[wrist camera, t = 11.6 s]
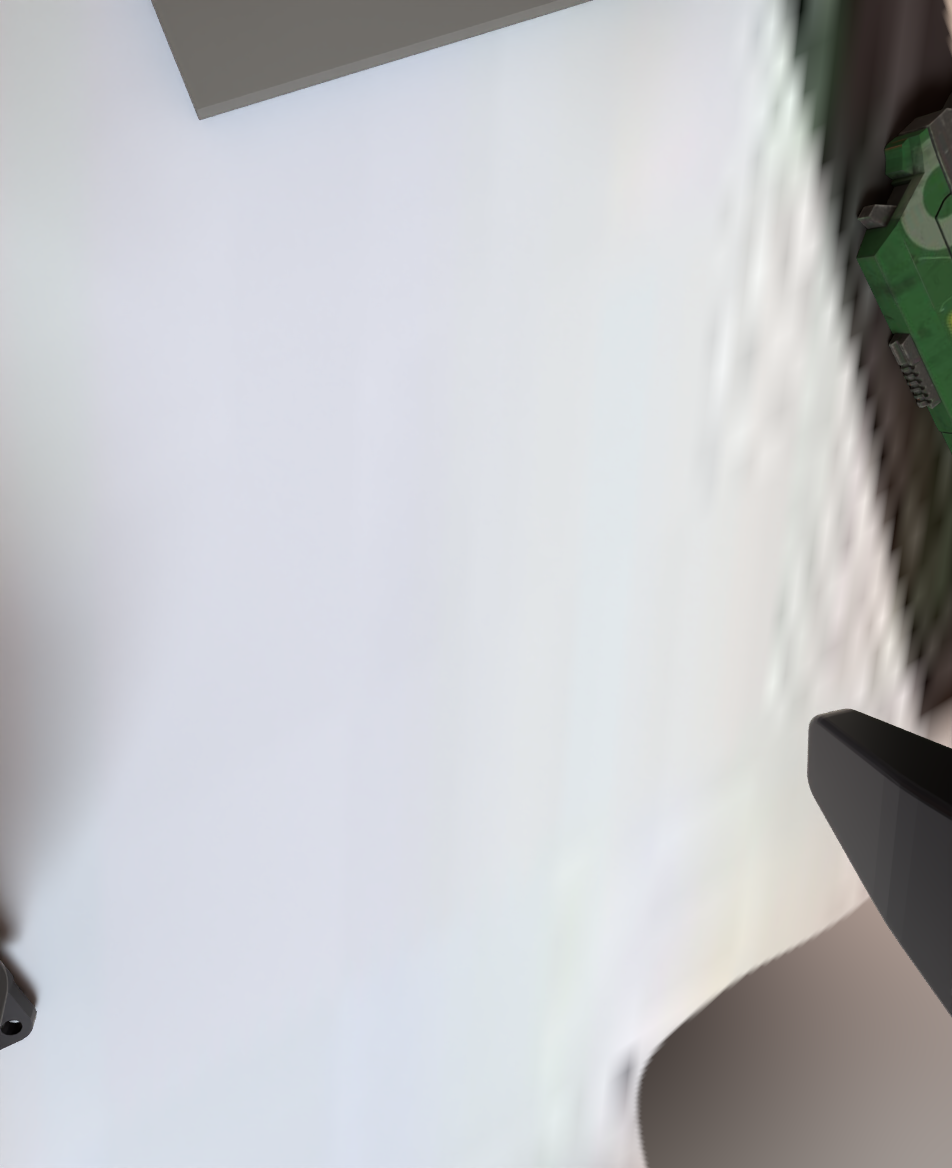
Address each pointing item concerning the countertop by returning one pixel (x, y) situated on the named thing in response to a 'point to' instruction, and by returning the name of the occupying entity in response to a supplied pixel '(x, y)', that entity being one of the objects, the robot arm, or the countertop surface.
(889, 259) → the gun
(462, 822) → the countertop surface
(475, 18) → the trivet mat
